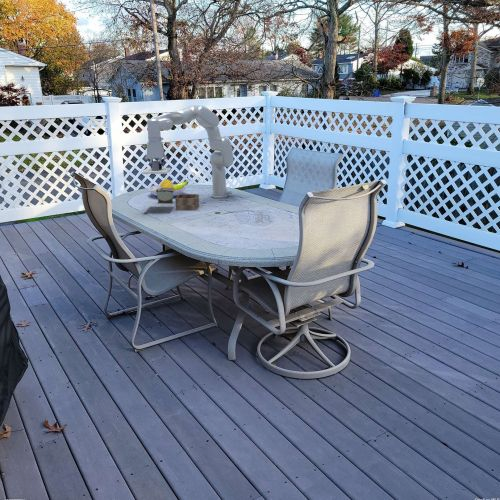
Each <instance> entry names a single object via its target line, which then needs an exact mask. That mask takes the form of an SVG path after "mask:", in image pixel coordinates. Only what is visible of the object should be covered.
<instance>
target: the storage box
mask: <svg viewBox="0 0 500 500" xmlns="http://www.w3.org/2000/svg"><path fill="white" fill-rule="evenodd" d="M199 194H200V193H182V194H179V195H177V196H175V198H174V199H175V211H197V209H198V208H199V206H200V195H199Z"/></svg>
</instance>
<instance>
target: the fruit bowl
mask: <svg viewBox="0 0 500 500" xmlns="http://www.w3.org/2000/svg"><path fill="white" fill-rule="evenodd" d="M188 182H189V180H188V179H187V180H186V181H182V182H180V183H176V184H175V183H173V182H172V181H171V180H170V179H168V178H167V179H163V180H162V181H161V183H160V184H156V185H152V186H149V187H148V188H147V189H148V191H149V193H150V194H151V195H152V196H156V197H157V192H156V189H159V188H172V189H173V191H174V193H173V198H174V197H175V198H176V197H177V196H178V195H179V194H184V191H185V190H186V185H187V183H188Z"/></svg>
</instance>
